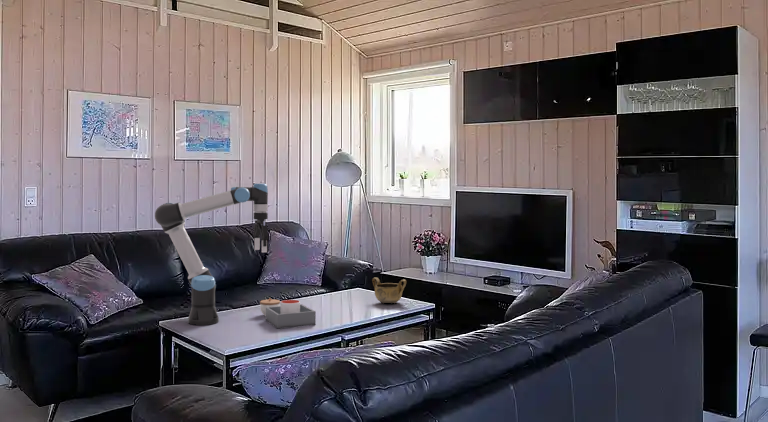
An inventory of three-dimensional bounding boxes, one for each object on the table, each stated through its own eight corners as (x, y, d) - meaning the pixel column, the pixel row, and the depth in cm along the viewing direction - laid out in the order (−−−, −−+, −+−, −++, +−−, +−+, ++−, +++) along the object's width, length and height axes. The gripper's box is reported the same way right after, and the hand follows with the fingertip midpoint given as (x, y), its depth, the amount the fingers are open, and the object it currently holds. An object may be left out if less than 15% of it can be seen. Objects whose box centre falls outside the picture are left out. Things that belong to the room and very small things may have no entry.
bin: (277, 328, 324) (277, 314, 324) (265, 320, 342) (265, 307, 342) (315, 324, 334) (315, 311, 333) (302, 317, 351) (302, 304, 351)
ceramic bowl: (411, 302, 394) (411, 278, 393) (398, 307, 379) (398, 282, 378) (379, 299, 405) (379, 275, 404) (365, 303, 390) (365, 278, 389)
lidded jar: (263, 318, 348) (263, 300, 348) (257, 314, 358) (257, 297, 357) (282, 316, 353) (282, 299, 353) (276, 312, 363) (276, 295, 362)
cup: (303, 319, 340) (303, 300, 340) (293, 323, 331) (293, 304, 331) (287, 318, 344) (287, 299, 344) (276, 321, 335) (276, 302, 335)
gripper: (274, 213, 345) (274, 253, 346) (260, 210, 367) (260, 248, 368) (260, 213, 342) (260, 253, 343) (247, 210, 364) (247, 249, 365)
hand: (260, 251), depth 356 cm, fingers open, 13 cm apart
